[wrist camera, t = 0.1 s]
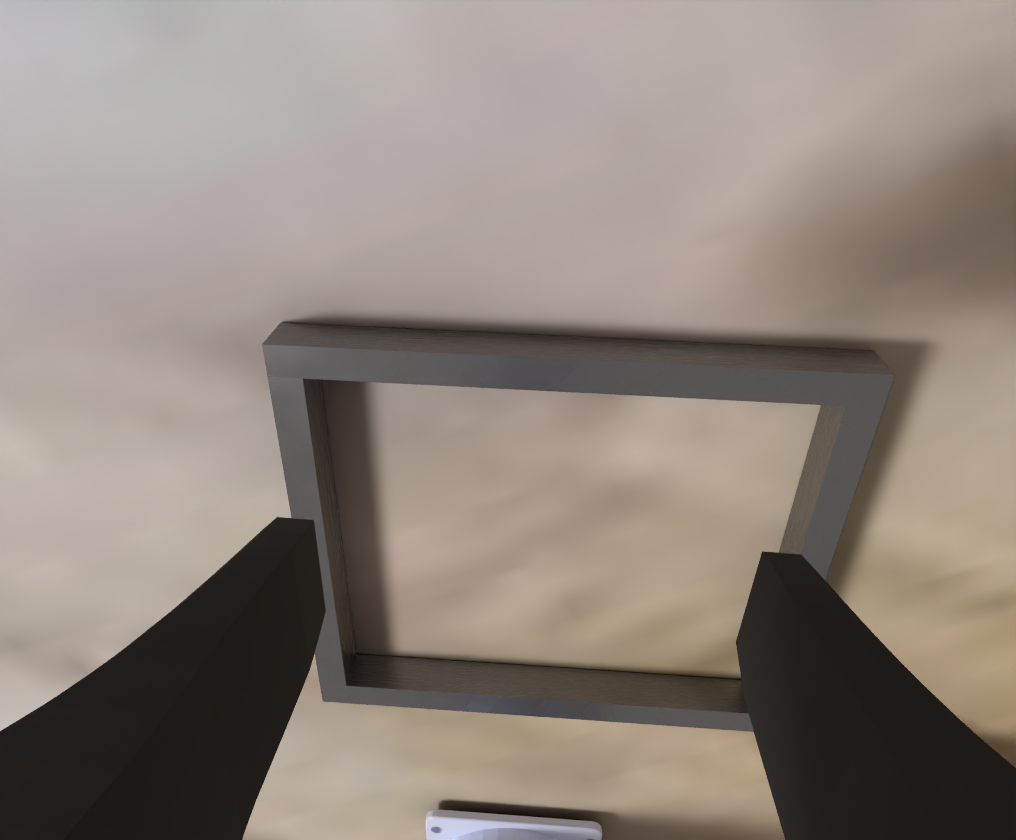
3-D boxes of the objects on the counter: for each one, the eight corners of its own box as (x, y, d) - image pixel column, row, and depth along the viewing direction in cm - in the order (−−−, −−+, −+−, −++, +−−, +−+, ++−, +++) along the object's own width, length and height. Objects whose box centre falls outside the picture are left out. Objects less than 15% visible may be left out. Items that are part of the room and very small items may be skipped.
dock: (763, 698, 28) (773, 733, 27) (333, 669, 29) (322, 701, 27) (873, 350, 20) (894, 375, 19) (280, 322, 21) (262, 344, 20)
